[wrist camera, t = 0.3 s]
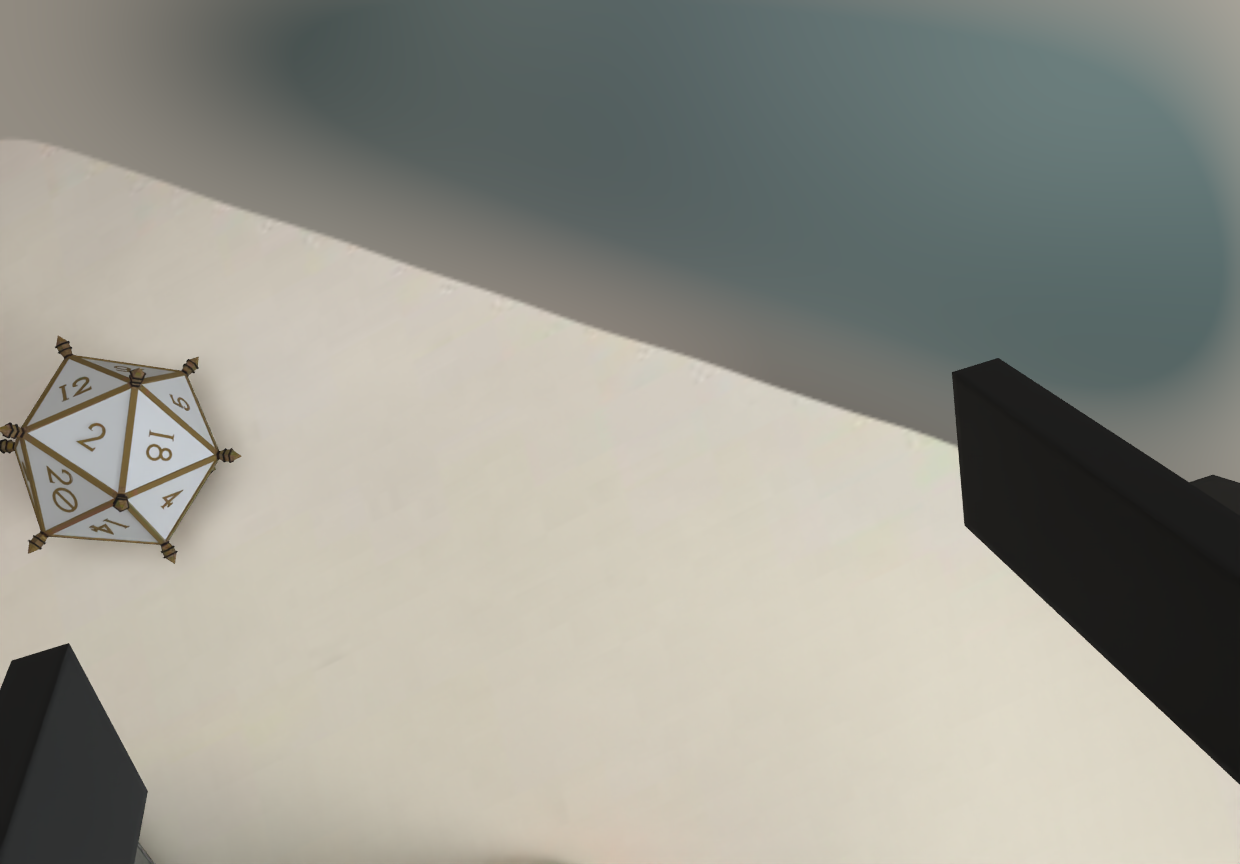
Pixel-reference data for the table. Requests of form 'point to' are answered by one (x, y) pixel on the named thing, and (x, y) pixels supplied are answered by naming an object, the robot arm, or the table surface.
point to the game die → (114, 451)
